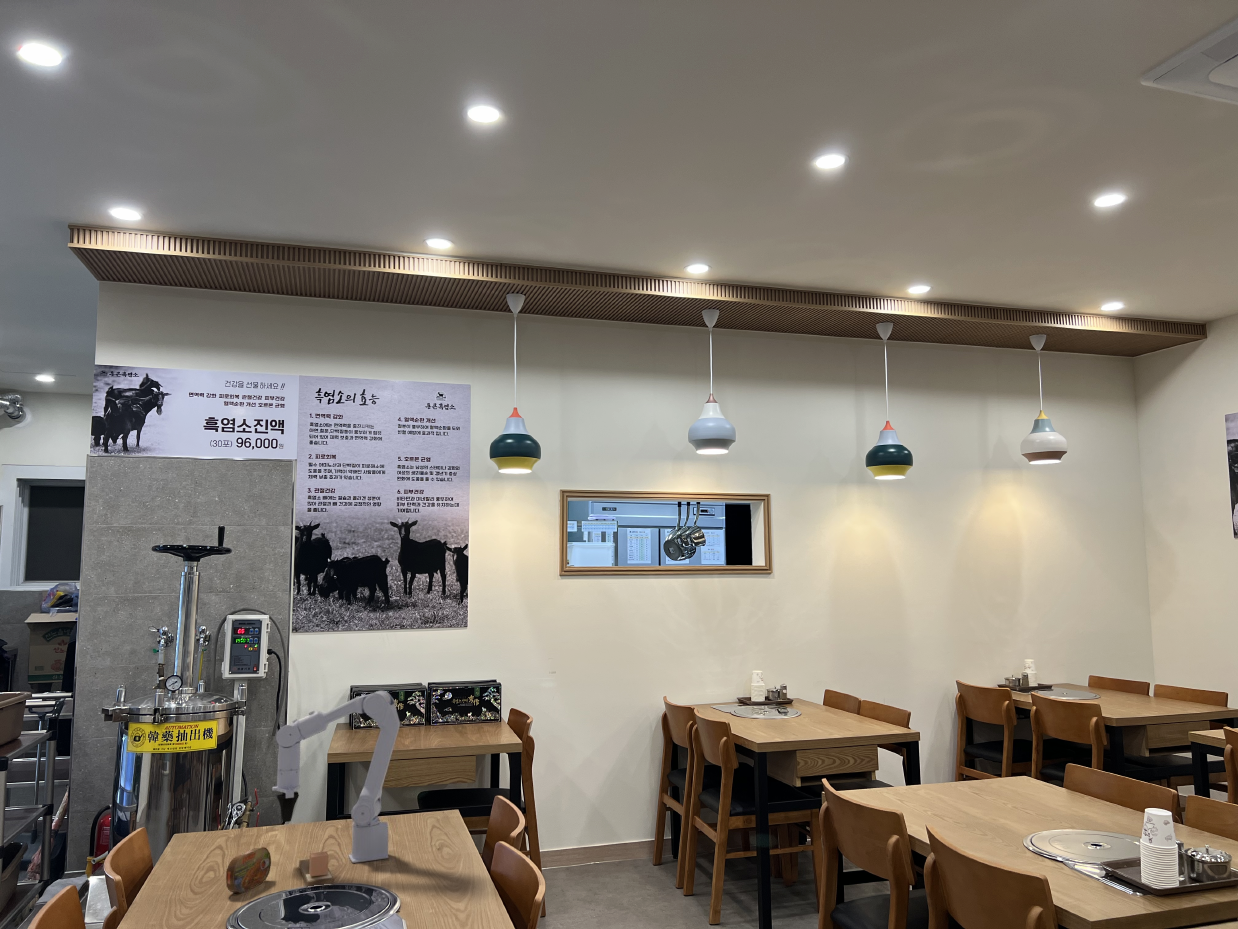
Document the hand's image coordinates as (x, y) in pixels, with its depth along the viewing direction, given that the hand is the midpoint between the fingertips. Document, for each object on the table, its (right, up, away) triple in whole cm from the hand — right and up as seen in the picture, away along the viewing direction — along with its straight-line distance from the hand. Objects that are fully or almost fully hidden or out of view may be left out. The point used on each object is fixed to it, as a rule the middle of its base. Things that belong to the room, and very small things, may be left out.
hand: (286, 821), depth 234 cm
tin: (0, -7, -24) cm, 25 cm away
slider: (+16, -5, -20) cm, 26 cm away
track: (+13, -7, -15) cm, 22 cm away
